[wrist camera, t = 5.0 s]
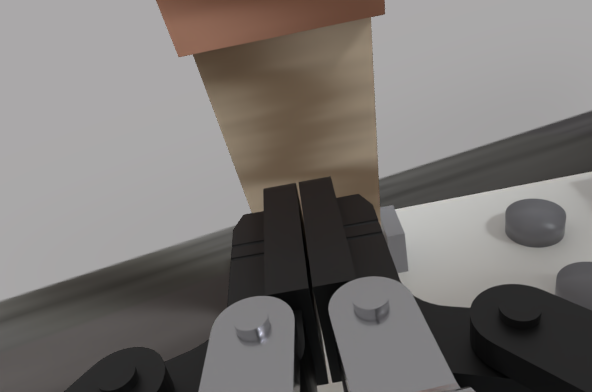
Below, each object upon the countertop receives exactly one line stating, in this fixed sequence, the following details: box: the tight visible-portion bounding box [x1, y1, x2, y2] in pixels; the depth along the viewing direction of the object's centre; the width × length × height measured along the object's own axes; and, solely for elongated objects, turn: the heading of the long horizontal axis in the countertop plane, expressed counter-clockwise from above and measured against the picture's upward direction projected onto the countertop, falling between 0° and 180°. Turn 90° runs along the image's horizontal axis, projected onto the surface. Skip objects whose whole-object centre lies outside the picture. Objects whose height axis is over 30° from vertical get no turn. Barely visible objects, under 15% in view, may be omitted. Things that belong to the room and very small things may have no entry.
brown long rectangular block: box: [156, 0, 385, 226], centre depth 19 cm, size 6×3×17 cm, turn 94°
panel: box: [317, 172, 592, 392], centre depth 22 cm, size 24×16×4 cm, turn 94°
